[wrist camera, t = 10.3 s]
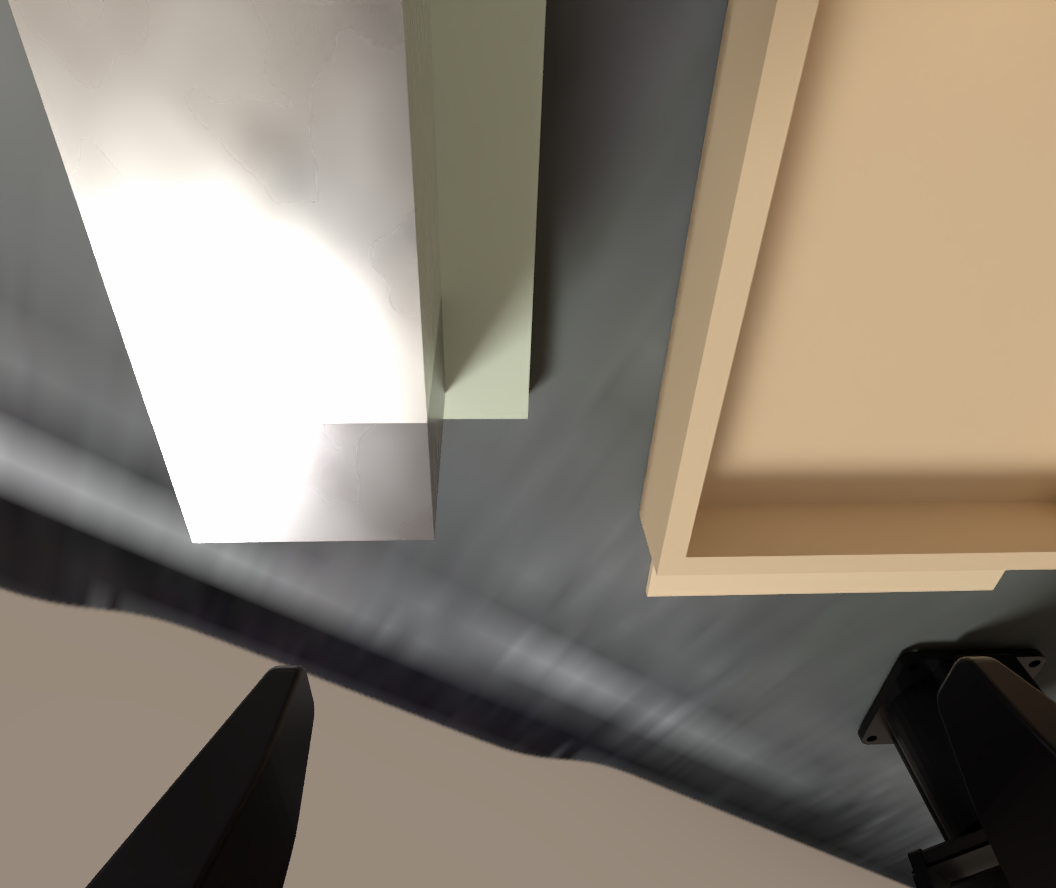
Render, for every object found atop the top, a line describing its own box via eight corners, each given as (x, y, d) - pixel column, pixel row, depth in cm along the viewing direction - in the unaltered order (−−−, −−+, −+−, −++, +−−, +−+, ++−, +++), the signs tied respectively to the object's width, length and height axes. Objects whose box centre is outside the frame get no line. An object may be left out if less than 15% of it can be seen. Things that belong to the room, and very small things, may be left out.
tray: (1007, 583, 28) (1196, 810, 20) (625, 590, 27) (680, 833, 19) (1443, -98, 15) (2350, -145, 8) (752, -136, 14) (1050, -234, 7)
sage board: (525, 397, 21) (527, 418, 20) (191, 396, 20) (176, 419, 19) (551, -231, 13) (557, -246, 12) (-2, -267, 12) (-43, -286, 11)
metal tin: (445, 393, 19) (434, 539, 15) (265, 392, 19) (192, 542, 14) (423, -169, 13) (387, -246, 8) (140, -186, 12) (-86, -277, 7)
